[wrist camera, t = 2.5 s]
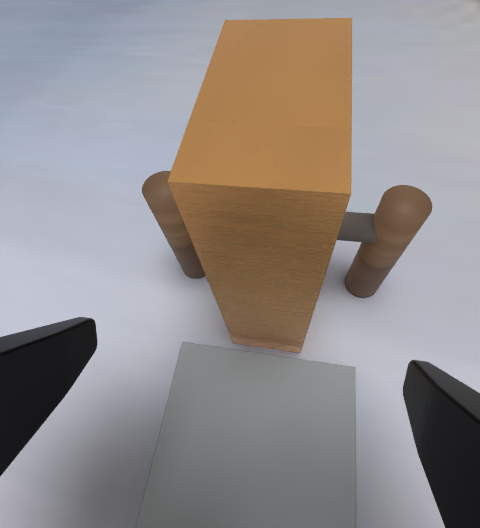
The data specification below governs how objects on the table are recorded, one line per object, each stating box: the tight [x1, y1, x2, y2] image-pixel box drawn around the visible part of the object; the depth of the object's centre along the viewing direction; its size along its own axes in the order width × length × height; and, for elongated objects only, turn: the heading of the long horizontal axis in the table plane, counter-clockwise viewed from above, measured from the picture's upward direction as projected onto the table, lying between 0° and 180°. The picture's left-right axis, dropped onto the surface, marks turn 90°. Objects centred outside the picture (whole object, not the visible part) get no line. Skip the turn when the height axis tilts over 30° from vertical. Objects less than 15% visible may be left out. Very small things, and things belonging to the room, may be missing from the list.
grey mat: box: [136, 342, 356, 528], centre depth 16 cm, size 10×10×1 cm
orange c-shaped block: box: [167, 18, 352, 353], centre depth 15 cm, size 7×4×14 cm, turn 170°
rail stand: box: [142, 171, 432, 298], centre depth 18 cm, size 2×13×8 cm, turn 81°
